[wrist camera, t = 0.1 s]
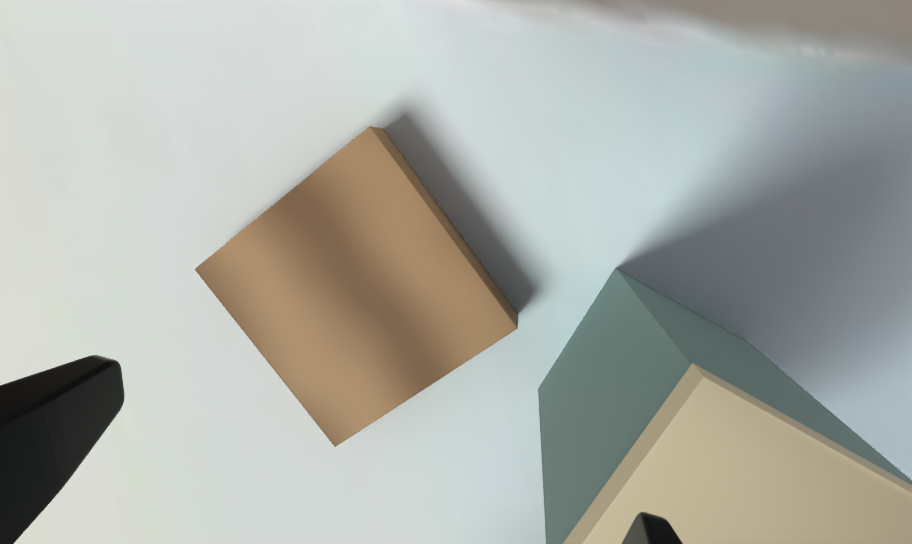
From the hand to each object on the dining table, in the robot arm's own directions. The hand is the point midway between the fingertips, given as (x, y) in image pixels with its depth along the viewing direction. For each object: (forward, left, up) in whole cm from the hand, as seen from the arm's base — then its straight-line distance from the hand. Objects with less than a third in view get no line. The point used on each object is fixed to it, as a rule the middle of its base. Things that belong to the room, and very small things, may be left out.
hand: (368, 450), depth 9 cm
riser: (-4, +2, -16) cm, 17 cm away
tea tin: (+4, -8, -15) cm, 18 cm away
